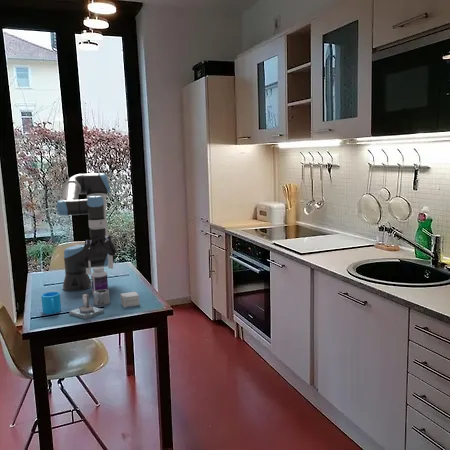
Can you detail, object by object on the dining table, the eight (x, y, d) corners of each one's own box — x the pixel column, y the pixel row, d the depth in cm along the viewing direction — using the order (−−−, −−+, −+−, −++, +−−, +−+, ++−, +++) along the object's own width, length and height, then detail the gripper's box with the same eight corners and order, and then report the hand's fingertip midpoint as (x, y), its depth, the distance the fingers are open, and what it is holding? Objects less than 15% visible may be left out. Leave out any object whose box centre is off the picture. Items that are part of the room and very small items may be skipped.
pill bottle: (111, 293, 239) (109, 267, 237) (100, 297, 232) (99, 270, 230) (100, 291, 243) (98, 265, 241) (89, 296, 236) (87, 269, 234)
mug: (41, 310, 216) (40, 293, 214) (59, 307, 219) (58, 290, 218) (44, 317, 205) (43, 300, 204) (63, 314, 209) (62, 297, 208)
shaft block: (69, 314, 208) (67, 295, 207) (87, 308, 216) (85, 290, 215) (86, 319, 201) (84, 299, 200) (104, 312, 209) (102, 293, 208)
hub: (91, 304, 223) (90, 292, 222) (103, 300, 228) (102, 288, 228) (101, 306, 219) (100, 294, 218) (112, 302, 224) (112, 290, 223)
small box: (136, 300, 226) (135, 291, 226) (139, 305, 219) (139, 295, 218) (120, 303, 223) (120, 293, 223) (123, 307, 216) (122, 297, 215)
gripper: (80, 232, 206) (84, 277, 209) (122, 225, 226) (124, 266, 229) (70, 231, 210) (73, 275, 213) (111, 224, 230) (114, 265, 233)
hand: (100, 271), depth 221 cm, fingers open, 13 cm apart
